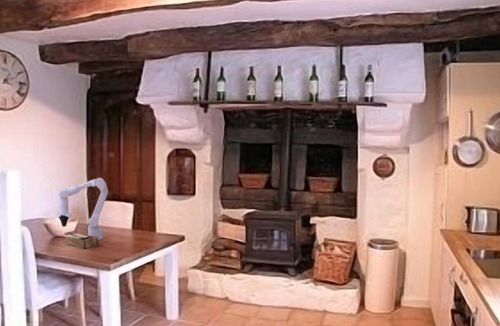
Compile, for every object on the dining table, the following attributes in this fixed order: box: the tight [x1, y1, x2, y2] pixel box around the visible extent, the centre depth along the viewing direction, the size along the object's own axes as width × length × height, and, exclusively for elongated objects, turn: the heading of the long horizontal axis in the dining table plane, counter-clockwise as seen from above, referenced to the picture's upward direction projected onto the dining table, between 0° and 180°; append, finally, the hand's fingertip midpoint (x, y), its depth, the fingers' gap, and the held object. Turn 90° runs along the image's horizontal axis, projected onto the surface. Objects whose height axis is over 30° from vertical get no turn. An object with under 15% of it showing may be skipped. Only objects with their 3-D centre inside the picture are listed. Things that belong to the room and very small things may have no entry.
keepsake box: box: [67, 233, 99, 250], centre depth 320 cm, size 11×18×6 cm, turn 55°
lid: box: [62, 231, 88, 239], centre depth 325 cm, size 9×16×2 cm, turn 55°
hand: (64, 226), depth 332 cm, fingers closed
